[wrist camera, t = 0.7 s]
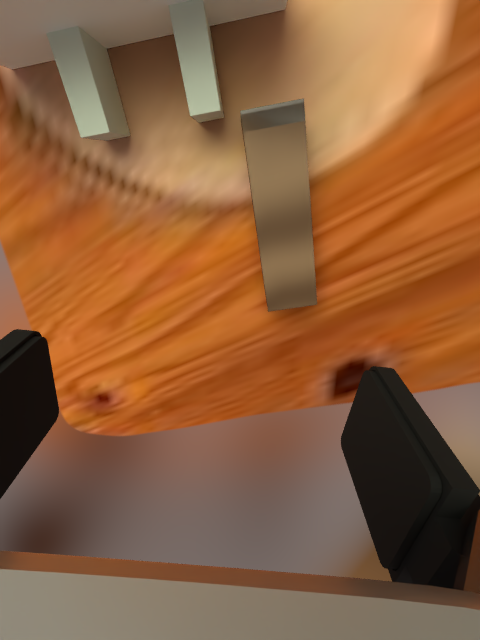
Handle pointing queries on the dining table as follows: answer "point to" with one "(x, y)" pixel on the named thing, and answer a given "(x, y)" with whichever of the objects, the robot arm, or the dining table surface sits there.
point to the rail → (281, 201)
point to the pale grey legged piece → (116, 30)
